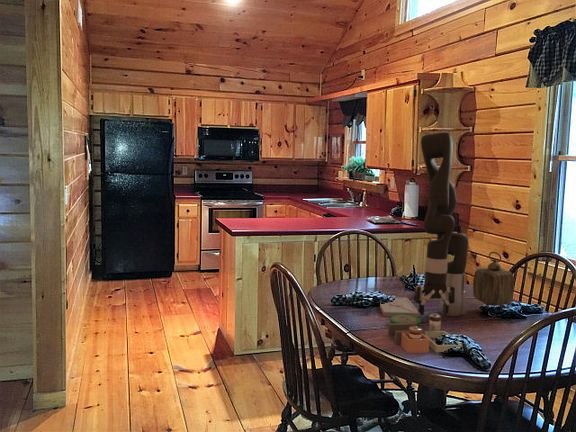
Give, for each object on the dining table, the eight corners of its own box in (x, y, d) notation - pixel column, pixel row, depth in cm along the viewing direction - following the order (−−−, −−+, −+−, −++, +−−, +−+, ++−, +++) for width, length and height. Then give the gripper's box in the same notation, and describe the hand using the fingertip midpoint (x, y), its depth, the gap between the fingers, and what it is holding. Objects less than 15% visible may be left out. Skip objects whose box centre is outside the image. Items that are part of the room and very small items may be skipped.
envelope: (407, 301, 238) (376, 301, 238) (407, 296, 238) (376, 296, 238) (418, 317, 214) (384, 316, 214) (418, 312, 214) (384, 311, 214)
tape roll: (384, 325, 204) (385, 319, 204) (399, 319, 212) (400, 312, 212) (410, 332, 197) (411, 325, 196) (425, 325, 205) (425, 319, 204)
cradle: (412, 334, 194) (412, 320, 194) (424, 345, 183) (425, 331, 182) (385, 334, 193) (386, 321, 192) (395, 346, 182) (396, 332, 181)
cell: (437, 332, 197) (438, 312, 196) (442, 336, 193) (443, 315, 192) (426, 332, 196) (427, 312, 195) (431, 336, 192) (432, 315, 191)
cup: (420, 346, 182) (421, 332, 182) (428, 354, 175) (429, 339, 175) (400, 346, 181) (401, 332, 181) (408, 354, 175) (408, 340, 174)
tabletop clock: (512, 315, 219) (516, 254, 215) (494, 317, 215) (498, 256, 212) (487, 305, 232) (491, 248, 229) (470, 307, 229) (473, 249, 226)
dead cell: (418, 346, 181) (419, 324, 180) (422, 350, 177) (424, 328, 176) (406, 346, 180) (407, 324, 179) (410, 351, 176) (411, 328, 175)
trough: (444, 338, 191) (444, 330, 190) (462, 352, 177) (462, 345, 177) (419, 338, 190) (420, 331, 189) (436, 353, 176) (436, 346, 175)
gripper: (450, 268, 196) (447, 311, 198) (413, 267, 195) (410, 311, 196) (459, 272, 189) (456, 317, 191) (420, 272, 187) (417, 317, 189)
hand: (433, 314), depth 194 cm, fingers open, 8 cm apart
